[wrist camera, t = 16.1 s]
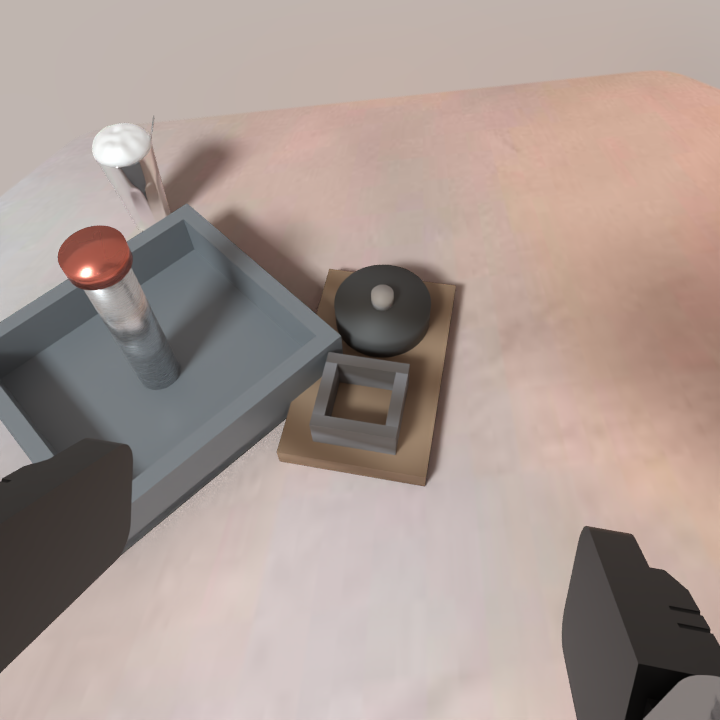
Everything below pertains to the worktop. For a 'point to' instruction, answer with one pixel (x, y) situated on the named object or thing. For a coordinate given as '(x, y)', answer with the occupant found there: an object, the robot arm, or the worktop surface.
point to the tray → (193, 351)
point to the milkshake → (132, 171)
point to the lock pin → (120, 301)
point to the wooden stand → (374, 377)
